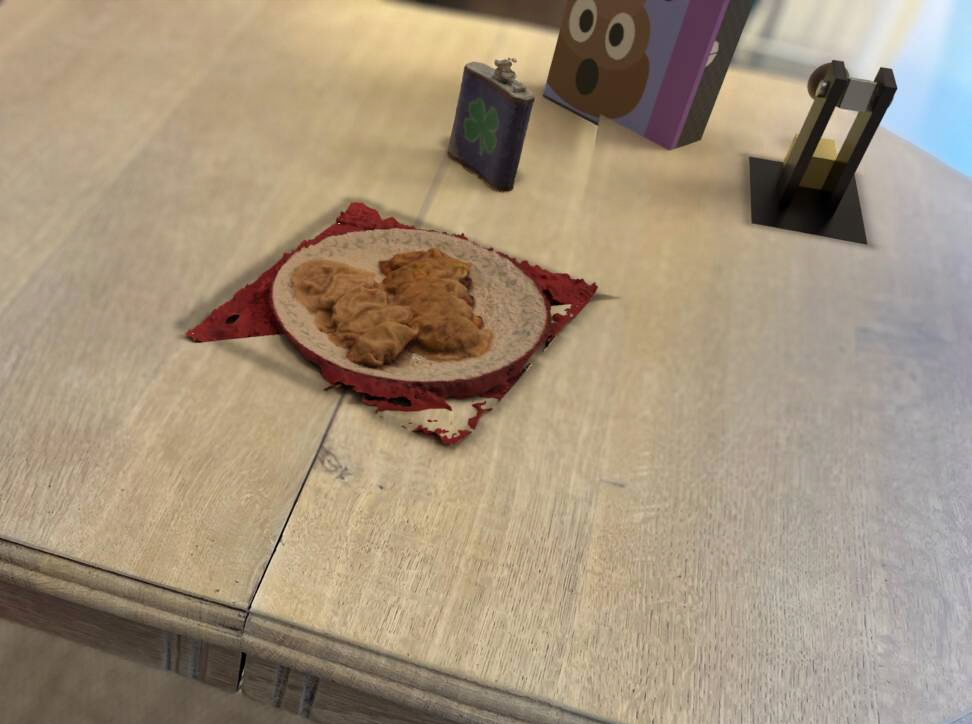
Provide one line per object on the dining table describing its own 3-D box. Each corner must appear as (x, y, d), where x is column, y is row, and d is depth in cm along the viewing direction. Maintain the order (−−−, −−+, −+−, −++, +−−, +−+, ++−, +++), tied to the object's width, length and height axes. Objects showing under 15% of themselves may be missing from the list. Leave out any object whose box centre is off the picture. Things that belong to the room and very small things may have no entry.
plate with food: (594, 305, 89) (606, 268, 86) (453, 458, 74) (463, 419, 71) (352, 216, 98) (357, 181, 95) (184, 336, 83) (184, 297, 80)
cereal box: (542, 96, 116) (609, -161, 99) (572, 87, 118) (643, -167, 101) (666, 161, 107) (764, -110, 89) (696, 150, 109) (799, -118, 91)
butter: (782, 162, 105) (795, 133, 103) (820, 169, 104) (834, 140, 102) (784, 183, 102) (798, 153, 100) (823, 190, 101) (838, 160, 99)
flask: (441, 153, 106) (463, 42, 98) (464, 148, 107) (488, 38, 99) (498, 195, 101) (526, 81, 93) (522, 189, 102) (552, 76, 94)
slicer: (744, 167, 106) (800, 35, 97) (849, 186, 105) (916, 52, 95) (746, 234, 97) (808, 95, 88) (861, 256, 95) (936, 116, 86)
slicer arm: (798, 97, 106) (813, 58, 104) (836, 103, 105) (851, 64, 103) (827, 114, 93) (845, 69, 91) (870, 121, 92) (889, 76, 90)
